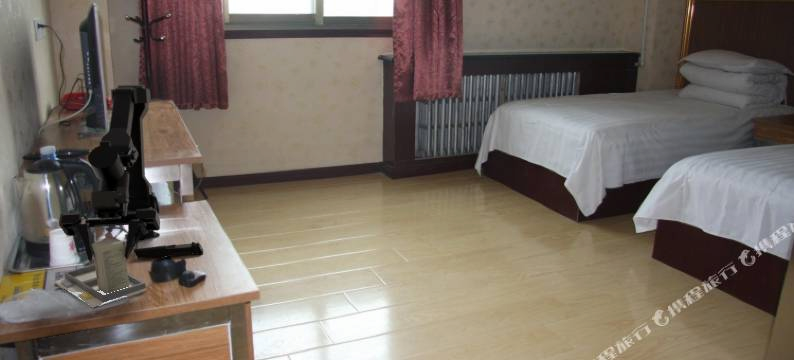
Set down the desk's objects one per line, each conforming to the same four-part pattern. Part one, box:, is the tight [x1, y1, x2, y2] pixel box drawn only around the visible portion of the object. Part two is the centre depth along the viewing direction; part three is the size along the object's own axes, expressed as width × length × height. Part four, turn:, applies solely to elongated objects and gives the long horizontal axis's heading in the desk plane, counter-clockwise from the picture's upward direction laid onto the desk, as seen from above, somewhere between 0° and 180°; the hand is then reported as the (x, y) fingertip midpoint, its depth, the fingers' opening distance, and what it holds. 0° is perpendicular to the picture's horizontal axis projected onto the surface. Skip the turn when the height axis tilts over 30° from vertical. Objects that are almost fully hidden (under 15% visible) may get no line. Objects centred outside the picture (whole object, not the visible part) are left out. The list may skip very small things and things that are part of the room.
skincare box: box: [92, 237, 129, 294], centre depth 130 cm, size 5×4×10 cm
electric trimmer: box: [133, 241, 204, 259], centre depth 150 cm, size 4×16×3 cm, turn 106°
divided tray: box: [54, 263, 147, 309], centre depth 133 cm, size 18×11×2 cm, turn 49°
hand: (108, 259), depth 128 cm, fingers open, 7 cm apart
